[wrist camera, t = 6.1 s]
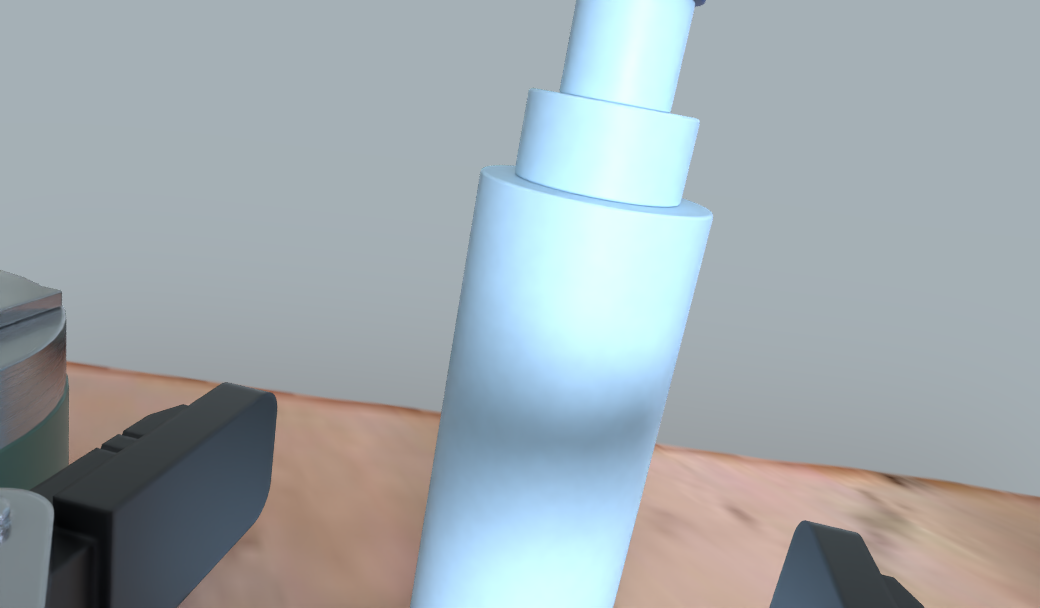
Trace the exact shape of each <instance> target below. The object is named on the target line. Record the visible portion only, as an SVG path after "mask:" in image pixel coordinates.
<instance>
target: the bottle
mask: <svg viewBox="0 0 1040 608" xmlns="http://www.w3.org/2000/svg"><path fill="white" fill-rule="evenodd" d="M705 1H706V0H576V5H575V11H574V16H573V21H572V27H571V32H570V37H569V43H568V48H567V53H566V59H565V64H564V70H563V75H562V80H561V86H560V93H558V92H552V91H547V90H542V89H536V88H531V89H530V90H529V92H528V98H527V104H526V110H525V116H524V121H523V127H522V132H521V138H520V143H519V149H518V155H517V161H516V166H511V165H510V166H509V165H493V166H487V167H484V168H482V169H481V172H480V179H479V184H478V190H477V196H476V203H475V210H474V215H473V222H472V228H471V233H470V240H469V246H468V252H467V259H466V265H465V270H464V277H463V283H462V289H461V295H460V302H459V308H458V314H457V320H456V326H455V332H454V339H453V345H452V351H451V357H450V363H449V369H448V375H447V381H446V388H445V395H444V400H443V406H442V412H441V419H440V425H439V431H438V437H437V443H436V449H435V456H434V462H433V468H432V474H431V480H430V486H429V493H428V499H427V505H426V511H425V517H424V523H423V530H422V536H421V542H420V548H419V554H418V560H417V567H416V573H415V579H414V585H413V591H412V597H411V604H410V608H613V606H614V602H615V598H616V594H617V590H618V586H619V582H620V579H621V575H622V571H623V567H624V563H625V559H626V555H627V551H628V547H629V543H630V540H631V536H632V532H633V528H634V524H635V520H636V516H637V512H638V508H639V504H640V501H641V497H642V493H643V489H644V485H645V481H646V477H647V473H648V469H649V465H650V462H651V458H652V454H653V450H654V446H655V442H656V438H657V434H658V430H659V426H660V423H661V419H662V415H663V411H664V407H665V403H666V399H667V395H668V391H669V387H670V384H671V380H672V376H673V372H674V368H675V364H676V360H677V356H678V352H679V348H680V345H681V341H682V337H683V333H684V329H685V325H686V321H687V317H688V313H689V309H690V306H691V302H692V298H693V294H694V290H695V286H696V282H697V278H698V274H699V270H700V266H701V263H702V259H703V255H704V251H705V247H706V243H707V239H708V235H709V231H710V227H711V224H712V220H713V214H712V212H711V211H710V210H708V209H707V208H705V207H703V206H701V205H699V204H697V203H694V202H691V201H689V200H686V199H683V198H682V194H683V190H684V186H685V182H686V178H687V174H688V170H689V165H690V161H691V157H692V153H693V149H694V145H695V141H696V137H697V132H698V128H699V124H700V121H699V120H698V119H696V118H692V117H686V116H681V115H676V114H671V113H670V111H671V107H672V103H673V98H674V94H675V90H676V86H677V81H678V77H679V73H680V68H681V64H682V60H683V55H684V51H685V47H686V42H687V38H688V34H689V29H690V25H691V21H692V16H693V12H694V8H695V7H696V6H700V5H703V4H704V3H705Z"/></svg>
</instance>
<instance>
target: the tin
mask: <svg viewBox="0 0 1040 608" xmlns="http://www.w3.org/2000/svg"><path fill="white" fill-rule="evenodd" d="M68 463H69V385H68V376H67V374H66V313H65V309H64V307H63V305H62V292H61V290H57V289H52V288H48V287H43V286H41V285H39V284H37V283H35V282H33V281H30V280H28V279H26V278H24V277H21V276H18V275H15V274H12V273H9V272H5V271H2V270H0V488H16V489H23V490H28V491H29V490H30V489H32V488H34V487H35V486H37V485H38V484H40V483H42V482H43V481H45V480H46V479H48V478H50V477H51V476H53V475H54V474H56V473H57V472H59V471H61V470H62V469H64V468H65V467H67V466H68Z"/></svg>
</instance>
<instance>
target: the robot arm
mask: <svg viewBox="0 0 1040 608" xmlns="http://www.w3.org/2000/svg"><path fill="white" fill-rule="evenodd" d="M276 418H277V401H276V397H275V395H274V394H273V393H270V392H266V391H262V390H258V389H253V388H249V387H245V386H241V385H236V384H232V383H227V382H225V383H222V384H220V385H219V386H217V387H216V388H214V389H213V390H211V391H210V392H208V393H207V394H205V395H204V396H202V397H201V398H199V399H198V400H196V401H195V402H193V403H192V404H190V405H189V406H188V405H179V406H176V407H173V408H170V409H167V410H163V411H160V412H157V413H154V414H150V415H148V416H146V417H145V418H143V419H142V420H140V421H138V422H137V423H135V424H134V425H132V426H131V427H129V428H127V429H126V430H124V431H123V434H122V435H120V434H118V435H116V436H115V437H113V438H111V439H110V440H108V441H107V442H105V443H104V444H102V447H101V449H99V448H96V449H94V450H92V451H91V452H89V453H88V454H86V455H84V456H83V457H81V458H80V459H78V460H77V461H75V462H73V463H72V464H70V465H69V466H67V467H65V468H64V469H62V470H61V471H59V472H57V473H56V474H54V475H53V476H51V477H50V478H48V479H46V480H45V481H43V482H42V483H40V484H38V485H37V486H35V487H34V488H32V489H30V490H29V491H28V490H23V489H16V488H0V608H177V607H178V605H179V604H180V603H181V602H182V601H183V600H184V599H185V598H186V597H187V596H188V595H189V594H190V592H191V591H192V590H193V589H194V588H195V587H196V586H197V585H198V584H199V583H200V582H201V580H202V579H203V578H204V577H205V576H206V575H207V574H208V573H209V572H210V571H211V570H212V569H213V567H214V566H215V565H216V564H217V563H218V562H219V561H220V560H221V559H222V558H223V557H224V556H225V554H226V553H227V552H228V551H229V550H230V549H231V548H232V547H233V546H234V545H235V544H236V542H237V541H238V540H239V539H240V538H241V537H242V536H243V535H244V534H245V533H246V532H247V531H248V529H249V528H250V527H251V526H252V525H253V524H254V523H255V521H256V520H257V519H258V517H259V515H260V513H261V512H262V509H263V507H264V505H265V502H266V500H267V497H268V493H269V489H270V483H271V473H272V462H273V451H274V440H275V429H276ZM770 608H924V606H923V605H922V604H921V603H920V602H919V601H918V600H917V599H916V598H915V597H913V596H912V595H911V594H910V593H909V592H908V591H907V590H906V589H905V588H904V587H903V586H902V585H901V584H900V583H899V582H898V581H897V580H896V579H895V578H893V577H889V576H885V575H881V573H880V571H879V569H878V567H877V566H876V564H875V562H874V560H873V558H872V556H871V554H870V552H869V550H868V548H867V546H866V545H865V543H864V541H863V539H862V537H861V536H860V535H859V534H858V533H856V532H852V531H848V530H843V529H839V528H835V527H831V526H826V525H822V524H818V523H814V522H810V521H802V522H801V523H800V524H799V525H798V526H797V528H796V530H795V532H794V535H793V538H792V541H791V544H790V547H789V550H788V553H787V556H786V559H785V562H784V565H783V568H782V571H781V574H780V577H779V580H778V583H777V586H776V589H775V592H774V595H773V598H772V601H771V604H770Z"/></svg>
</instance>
